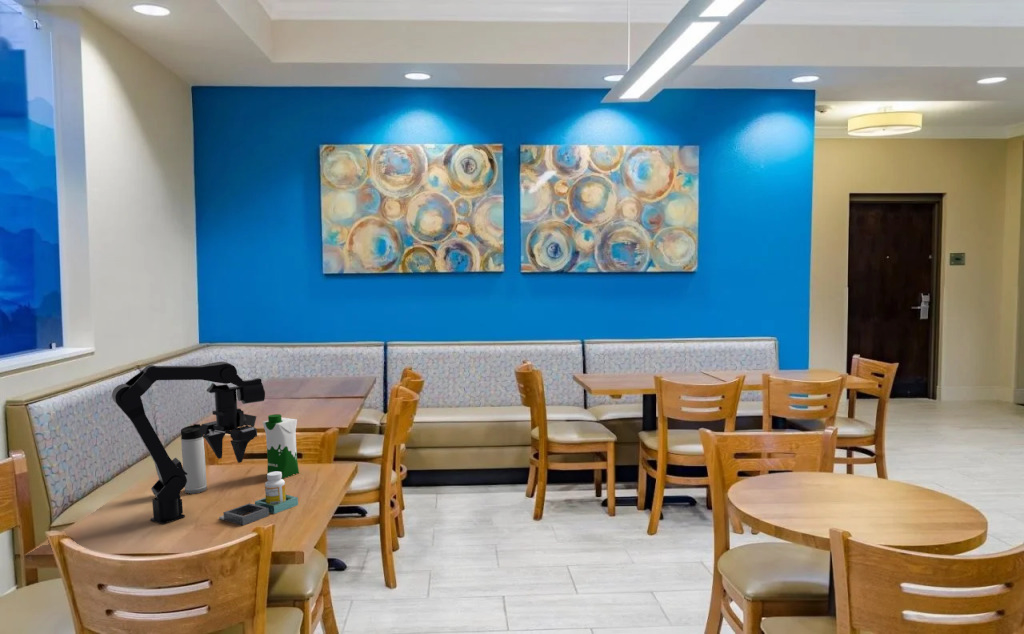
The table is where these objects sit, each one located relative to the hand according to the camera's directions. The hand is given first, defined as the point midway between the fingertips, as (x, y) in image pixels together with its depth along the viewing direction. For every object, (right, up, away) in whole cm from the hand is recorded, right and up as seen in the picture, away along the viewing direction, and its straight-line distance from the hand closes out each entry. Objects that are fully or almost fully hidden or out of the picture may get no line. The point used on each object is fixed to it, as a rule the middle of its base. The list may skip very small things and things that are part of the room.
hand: (229, 460), depth 207 cm
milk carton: (+6, -11, +30) cm, 32 cm away
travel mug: (-16, -13, +16) cm, 26 cm away
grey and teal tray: (+10, -13, -6) cm, 18 cm away
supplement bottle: (+14, -13, -2) cm, 19 cm away
